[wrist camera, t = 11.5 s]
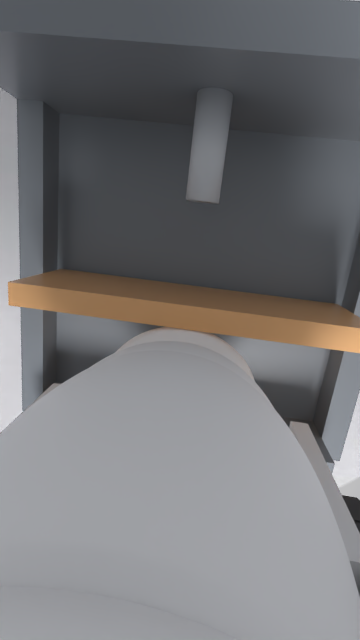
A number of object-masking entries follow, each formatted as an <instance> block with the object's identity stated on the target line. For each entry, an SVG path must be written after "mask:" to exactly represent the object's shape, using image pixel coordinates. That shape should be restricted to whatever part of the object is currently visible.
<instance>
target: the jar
mask: <svg viewBox="0 0 360 640" xmlns="http://www.w3.org/2000/svg"><path fill="white" fill-rule="evenodd" d="M0 640H360V597H359V593H358V589H357V586H356V582H355V578H354V575H353V571H352V568H351V565H350V561H349V558H348V555H347V552H346V548H345V545H344V542H343V539H342V536H341V533H340V530H339V528H338V525H337V522H336V519H335V517H334V514H333V512H332V509H331V507H330V504H329V502H328V499H327V497H326V495H325V492H324V490H323V488H322V486H321V483H320V481H319V479H318V477H317V475H316V473H315V471H314V469H313V467H312V465H311V463H310V461H309V460H308V458H307V456H306V454H305V452H304V451H303V449H302V447H301V446H300V444H299V442H298V441H297V439H296V438H295V436H294V435H293V433H292V432H291V430H290V429H289V427H288V426H287V424H286V423H285V422H284V420H283V419H282V418H281V416H280V415H279V414H278V412H277V411H276V410H275V409H274V407H273V405H272V404H271V402H270V401H269V399H268V398H267V396H266V395H265V393H264V392H263V391H262V390H261V388H260V387H259V386H258V385H257V383H256V382H255V380H254V377H253V375H252V372H251V370H250V368H249V367H248V365H247V363H246V362H245V360H244V359H243V358H242V356H241V355H240V354H239V353H238V352H237V351H236V350H235V349H234V348H233V347H232V346H231V345H229V344H228V343H227V342H225V341H224V340H222V339H221V338H219V337H217V336H215V335H213V334H211V333H208V332H201V331H193V330H186V329H179V328H172V327H161V328H156V329H152V330H149V331H146V332H144V333H141V334H139V335H137V336H135V337H133V338H132V339H130V340H129V341H127V342H126V343H125V344H124V345H122V346H121V347H120V348H119V349H118V350H117V351H116V352H115V353H113V354H111V355H109V356H108V357H106V358H104V359H102V360H100V361H99V362H97V363H96V364H94V365H92V366H91V367H90V368H88V369H86V370H84V371H82V372H80V373H79V374H77V375H75V376H73V377H72V378H70V379H68V380H67V381H65V382H64V383H62V384H60V385H59V386H57V387H56V388H54V389H53V390H52V391H50V392H49V393H47V394H46V395H45V396H43V397H42V398H41V399H39V400H38V401H37V402H35V403H34V404H33V405H32V406H30V407H29V408H28V409H27V410H25V411H24V412H23V413H22V414H21V415H20V416H18V417H17V418H16V419H15V420H14V421H13V422H12V423H11V424H9V425H8V426H7V427H6V428H5V429H4V430H3V431H2V432H1V433H0Z"/></svg>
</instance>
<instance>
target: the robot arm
mask: <svg viewBox="0 0 360 640" xmlns="http://www.w3.org/2000/svg"><path fill="white" fill-rule="evenodd" d="M59 385H60V384H57V383H53V384H52V385H51V386H50V387H49V388H48V389H47V390H46V391H45V392H44V393H42V394H41V395H40V396H39V397H38V398H37V399H36V400H35V401H34V402H33V403H32V404H31V405H30V406H32V405H33V404H34V403H35V402H37V401H38V400H39V399H41V398H42V397H43V396H45V395H46V394H47V393H49V392H50V391H52V390H53V389H54V388H56V387H57V386H59ZM30 406H29V407H30ZM29 407H28V408H29ZM28 408H26V409H25V410H27V409H28ZM25 410H24V411H25ZM24 411H23V412H24ZM23 412H22V413H23ZM22 413H21V414H22ZM21 414H20V415H21ZM20 415H19V416H20ZM289 429H290V430H291V432H292V433H293V435H294V436H295V438H296V439H297V441H298V442H299V444H300V446H301V447H302V449H303V451H304V452H305V454H306V456H307V458H308V460H309V461H310V463H311V465H312V467H313V469H314V471H315V473H316V475H317V477H318V479H319V481H320V483H321V486H322V488H323V490H324V492H325V495H326V497H327V499H328V502H329V504H330V507H331V509H332V512H333V514H334V517H335V519H336V522H337V525H338V528H339V530H340V533H341V536H342V539H343V542H344V545H345V548H346V552H347V555H348V558H349V561H350V565H351V568H352V571H353V575H354V578H355V582H356V586H357V589H358V593H359V597H360V500H359V499H358V498H355V497H349V496H343V495H341V493H340V491H339V489H338V486H337V484H336V482H335V480H334V478H333V476H332V474H331V472H330V470H329V467H328V465H327V463H326V461H325V459H324V457H323V455H322V453H321V451H320V448H319V446H318V444H317V442H316V440H315V438H314V436H313V434H312V432H311V429H310V427H309V425H308V424H306V423H300V422H294V421H291V422H290V426H289Z"/></svg>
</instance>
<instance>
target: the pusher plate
mask: <svg viewBox="0 0 360 640" xmlns="http://www.w3.org/2000/svg"><path fill="white" fill-rule="evenodd" d="M8 298H9V305H11V306H18V307H25V308H33V309H40V310H47V311H55V312H62V313H69V314H77V315H84V316H91V317H98V318H106V319H113V320H120V321H128V322H135V323H142V324H150V325H157V326H164V327H172V328H179V329H186V330H193V331H201V332H208V333H215V334H223V335H230V336H237V337H245V338H252V339H259V340H267V341H274V342H281V343H289V344H296V345H303V346H310V347H318V348H325V349H332V350H340V351H347V352H354V353H360V317H358V316H357V315H355V314H353V313H352V312H350V311H348V310H347V309H345V308H343V307H342V306H340V305H338V304H334V303H326V302H318V301H310V300H302V299H294V298H287V297H279V296H271V295H263V294H255V293H247V292H239V291H232V290H224V289H216V288H208V287H200V286H192V285H185V284H177V283H169V282H161V281H153V280H145V279H138V278H130V277H122V276H114V275H106V274H98V273H90V272H83V271H75V270H67V269H58V270H54V271H50V272H46V273H42V274H38V275H34V276H30V277H26V278H22V279H18V280H14V281H10V282H8Z"/></svg>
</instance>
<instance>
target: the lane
mask: <svg viewBox="0 0 360 640" xmlns="http://www.w3.org/2000/svg"><path fill="white" fill-rule="evenodd" d="M0 88H2V89H3V90H5V91H6V92H8V93H9V94H11V95H12V96H14V97H15V98H17V127H18V184H19V241H20V279H22V278H26V277H30V276H34V275H38V274H42V273H46V272H50V271H54V270H58V269H67V270H75V271H83V272H90V273H98V274H106V275H114V276H122V277H130V278H138V279H145V280H153V281H161V282H169V283H177V284H185V285H192V286H200V287H208V288H216V289H224V290H232V291H239V292H247V293H255V294H263V295H271V296H279V297H287V298H294V299H302V300H310V301H318V302H326V303H334V304H338V305H340V306H342V307H343V308H345V309H347V310H348V311H350V312H352V313H353V314H355V315H357V316H358V317H360V1H350V0H0ZM161 327H164V326H157V325H150V324H142V323H135V322H128V321H120V320H113V319H106V318H98V317H91V316H84V315H77V314H69V313H62V312H55V311H47V310H40V309H33V308H25V307H21V356H22V411H24V410H25V409H26V408H28V407H29V406H30V405H31V404H32V403H33V402H34V401H35V400H36V399H37V398H38V397H39V396H40V395H41V394H42V393H44V392H45V391H46V390H47V389H48V388H49V387H50V386H51V385H52V384H53V383H57V384H62V383H64V382H65V381H67V380H68V379H70V378H72V377H73V376H75V375H77V374H79V373H80V372H82V371H84V370H86V369H88V368H90V367H91V366H92V365H94V364H96V363H97V362H99V361H100V360H102V359H104V358H106V357H108V356H109V355H111V354H113V353H115V352H116V351H117V350H118V349H119V348H120V347H121V346H122V345H124V344H125V343H126V342H127V341H129V340H130V339H132V338H133V337H135V336H137V335H139V334H141V333H144V332H146V331H149V330H152V329H156V328H161ZM211 334H213V335H215V336H217V337H219V338H221V339H222V340H224V341H225V342H227V343H228V344H229V345H231V346H232V347H233V348H234V349H235V350H236V351H237V352H238V353H239V354H240V355H241V356H242V358H243V359H244V360H245V362H246V363H247V365H248V367H249V368H250V370H251V372H252V375H253V377H254V380H255V382H256V383H257V385H258V386H259V387H260V388H261V390H262V391H263V392H264V393H265V395H266V396H267V398H268V399H269V401H270V402H271V404H272V405H273V407H274V409H275V410H276V411H277V412H278V414H279V415H280V416H281V418H282V419H283V420H284V422H285V423H286V424H287V426H288V427H289V426H290V422H291V421H294V422H300V423H306V424H308V425H309V427H310V429H311V432H312V434H313V436H314V438H315V440H316V442H317V444H318V446H319V448H320V451H321V453H322V455H323V457H324V459H325V461H326V463H327V465H328V467H329V470H330V472H331V474H332V472H333V468H334V464H335V463H334V461H333V460H336V461H340V458H341V454H342V451H343V447H344V444H345V440H346V437H347V433H348V429H349V426H350V422H351V419H352V415H353V412H354V408H355V405H356V401H357V398H358V394H359V390H360V353H354V352H347V351H340V350H332V349H325V348H318V347H310V346H303V345H296V344H289V343H281V342H274V341H267V340H259V339H252V338H245V337H237V336H230V335H223V334H215V333H211Z"/></svg>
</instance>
